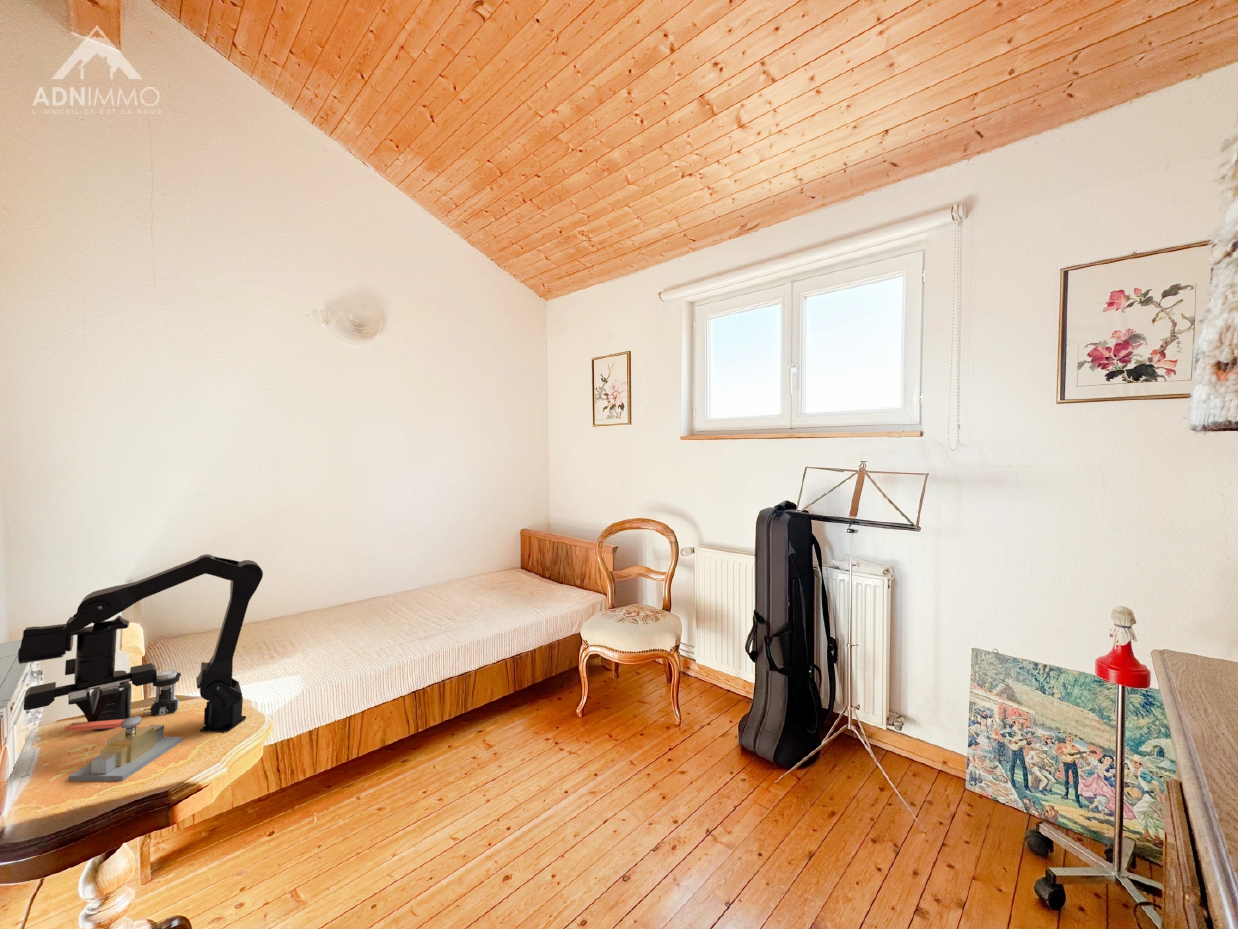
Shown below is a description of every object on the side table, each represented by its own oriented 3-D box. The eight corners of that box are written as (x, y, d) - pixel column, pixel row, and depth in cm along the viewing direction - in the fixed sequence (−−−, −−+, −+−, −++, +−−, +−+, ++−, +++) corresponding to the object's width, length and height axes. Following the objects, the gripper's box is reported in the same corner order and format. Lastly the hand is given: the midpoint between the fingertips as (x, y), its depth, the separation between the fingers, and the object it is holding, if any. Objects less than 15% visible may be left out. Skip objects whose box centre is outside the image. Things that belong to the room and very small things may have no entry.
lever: (144, 720, 104) (145, 715, 104) (134, 727, 101) (135, 723, 101) (74, 726, 101) (74, 721, 101) (62, 733, 98) (62, 728, 98)
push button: (138, 720, 117) (141, 679, 117) (147, 710, 122) (149, 671, 122) (174, 715, 120) (176, 675, 120) (181, 705, 125) (184, 667, 125)
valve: (168, 740, 109) (170, 711, 109) (111, 777, 96) (113, 744, 96) (145, 740, 108) (146, 711, 108) (84, 777, 95) (86, 744, 95)
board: (181, 741, 109) (182, 737, 109) (122, 781, 95) (122, 776, 95) (135, 741, 109) (135, 736, 109) (68, 781, 95) (68, 776, 95)
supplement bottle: (98, 720, 116) (101, 670, 117) (135, 715, 119) (138, 666, 119) (81, 734, 110) (84, 682, 110) (121, 729, 113) (124, 677, 113)
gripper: (153, 631, 114) (149, 697, 114) (29, 651, 100) (25, 726, 100) (158, 645, 107) (154, 715, 107) (25, 668, 93) (21, 749, 93)
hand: (92, 725), depth 102 cm, fingers closed
